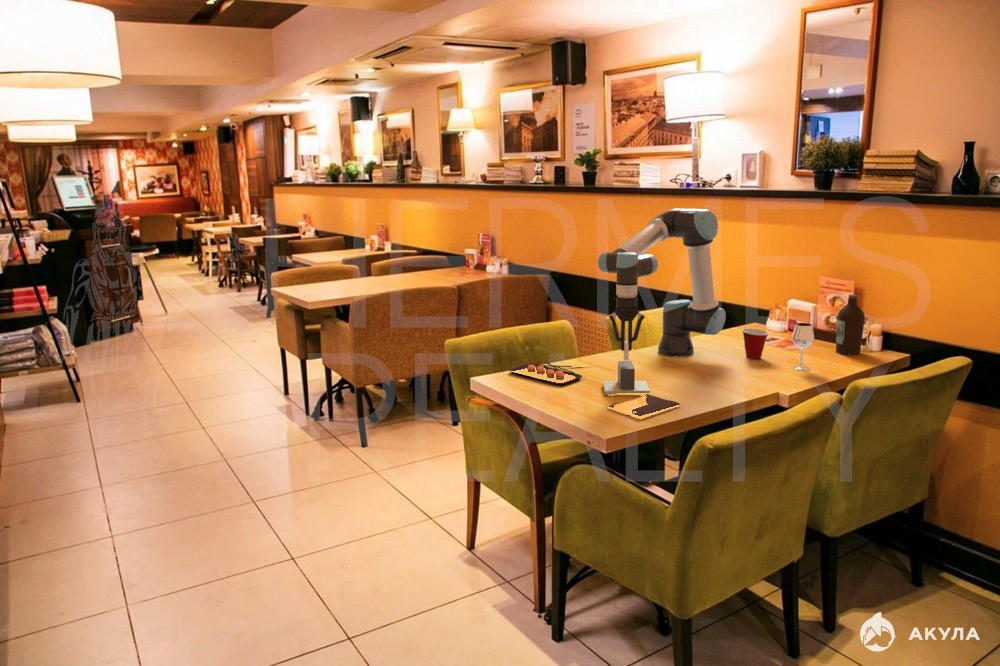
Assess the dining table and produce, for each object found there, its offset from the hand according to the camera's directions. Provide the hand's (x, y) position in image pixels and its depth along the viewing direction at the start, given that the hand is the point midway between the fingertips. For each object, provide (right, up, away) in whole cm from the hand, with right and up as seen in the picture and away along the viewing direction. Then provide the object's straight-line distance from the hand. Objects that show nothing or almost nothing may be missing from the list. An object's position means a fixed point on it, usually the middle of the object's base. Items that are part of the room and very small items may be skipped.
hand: (626, 359), depth 262 cm
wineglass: (+74, -5, +24) cm, 78 cm away
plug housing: (0, -10, +3) cm, 10 cm away
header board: (0, -12, +3) cm, 12 cm away
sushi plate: (-23, -7, +29) cm, 38 cm away
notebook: (+3, -17, -15) cm, 23 cm away
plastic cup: (+61, -1, +40) cm, 73 cm away
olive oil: (+103, +1, +44) cm, 112 cm away
